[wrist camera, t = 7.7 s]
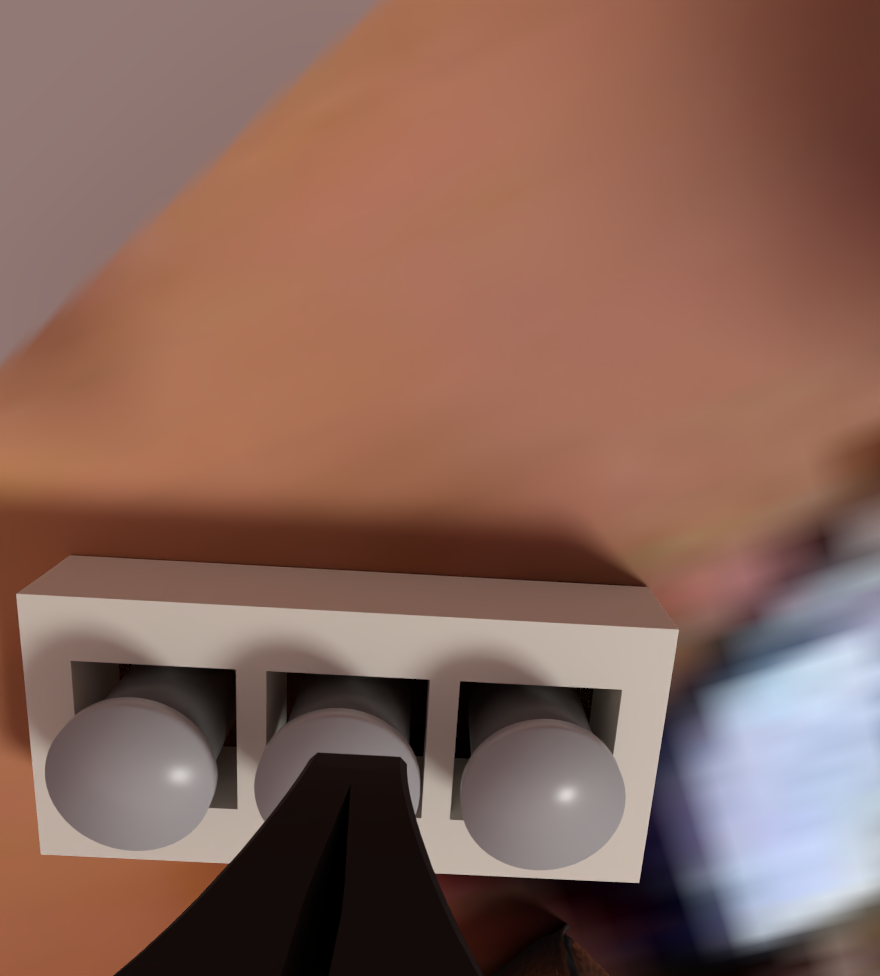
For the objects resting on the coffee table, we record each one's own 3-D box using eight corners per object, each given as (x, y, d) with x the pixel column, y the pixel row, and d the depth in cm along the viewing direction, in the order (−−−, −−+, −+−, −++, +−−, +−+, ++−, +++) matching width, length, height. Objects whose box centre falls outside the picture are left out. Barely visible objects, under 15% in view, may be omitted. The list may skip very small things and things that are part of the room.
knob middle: (426, 644, 19) (424, 723, 16) (419, 764, 20) (415, 864, 17) (287, 636, 19) (253, 714, 16) (286, 758, 20) (254, 856, 16)
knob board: (648, 586, 19) (679, 629, 17) (616, 814, 21) (639, 882, 19) (69, 555, 19) (16, 593, 17) (87, 788, 21) (40, 854, 18)
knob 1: (252, 634, 19) (210, 711, 16) (253, 756, 20) (213, 854, 16) (111, 627, 19) (38, 702, 15) (119, 749, 20) (51, 847, 16)
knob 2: (599, 653, 19) (635, 733, 16) (584, 773, 20) (614, 874, 17) (461, 645, 19) (466, 725, 16) (452, 766, 20) (455, 866, 17)
